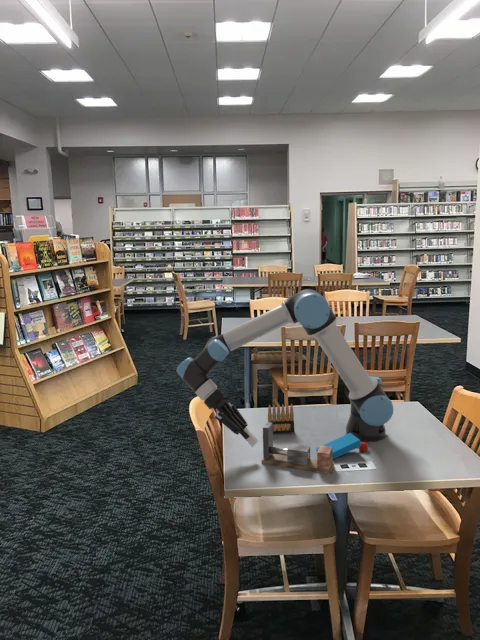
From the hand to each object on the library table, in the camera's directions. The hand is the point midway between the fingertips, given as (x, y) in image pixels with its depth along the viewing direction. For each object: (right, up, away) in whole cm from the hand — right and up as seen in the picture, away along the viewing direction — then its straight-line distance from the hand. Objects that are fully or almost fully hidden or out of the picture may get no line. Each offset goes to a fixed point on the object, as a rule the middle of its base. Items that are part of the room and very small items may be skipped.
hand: (255, 443), depth 174 cm
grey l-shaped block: (+11, -4, -4) cm, 12 cm away
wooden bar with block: (+14, -6, -5) cm, 16 cm away
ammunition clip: (+11, -1, +23) cm, 26 cm away
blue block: (+32, -5, +3) cm, 33 cm away
